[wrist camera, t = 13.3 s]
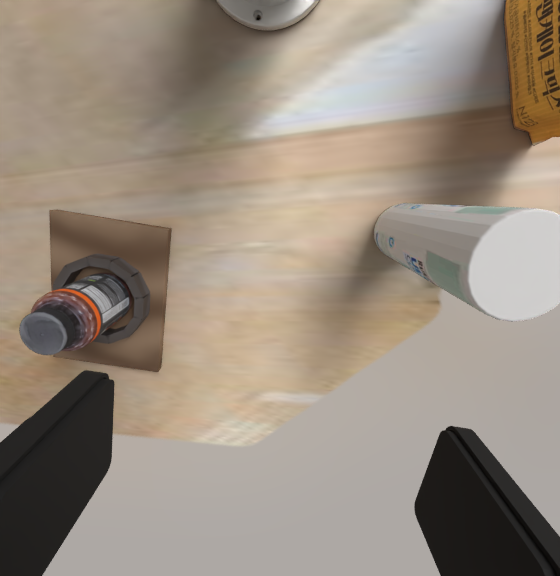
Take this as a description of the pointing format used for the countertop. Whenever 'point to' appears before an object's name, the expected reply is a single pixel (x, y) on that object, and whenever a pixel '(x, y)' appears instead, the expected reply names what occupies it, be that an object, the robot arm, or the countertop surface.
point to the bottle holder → (126, 265)
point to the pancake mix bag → (534, 66)
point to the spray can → (479, 254)
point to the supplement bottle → (75, 314)
